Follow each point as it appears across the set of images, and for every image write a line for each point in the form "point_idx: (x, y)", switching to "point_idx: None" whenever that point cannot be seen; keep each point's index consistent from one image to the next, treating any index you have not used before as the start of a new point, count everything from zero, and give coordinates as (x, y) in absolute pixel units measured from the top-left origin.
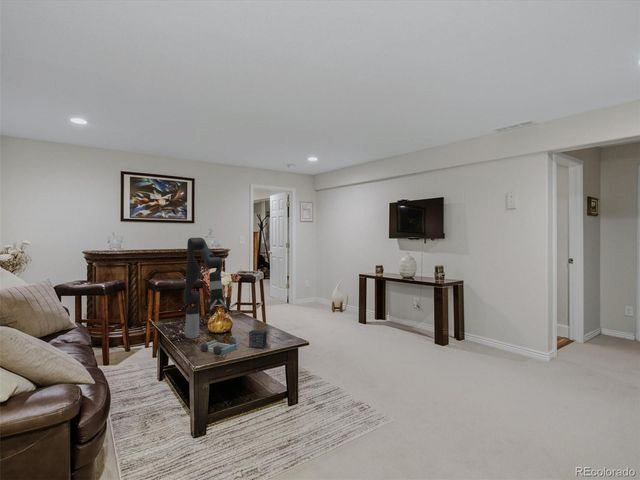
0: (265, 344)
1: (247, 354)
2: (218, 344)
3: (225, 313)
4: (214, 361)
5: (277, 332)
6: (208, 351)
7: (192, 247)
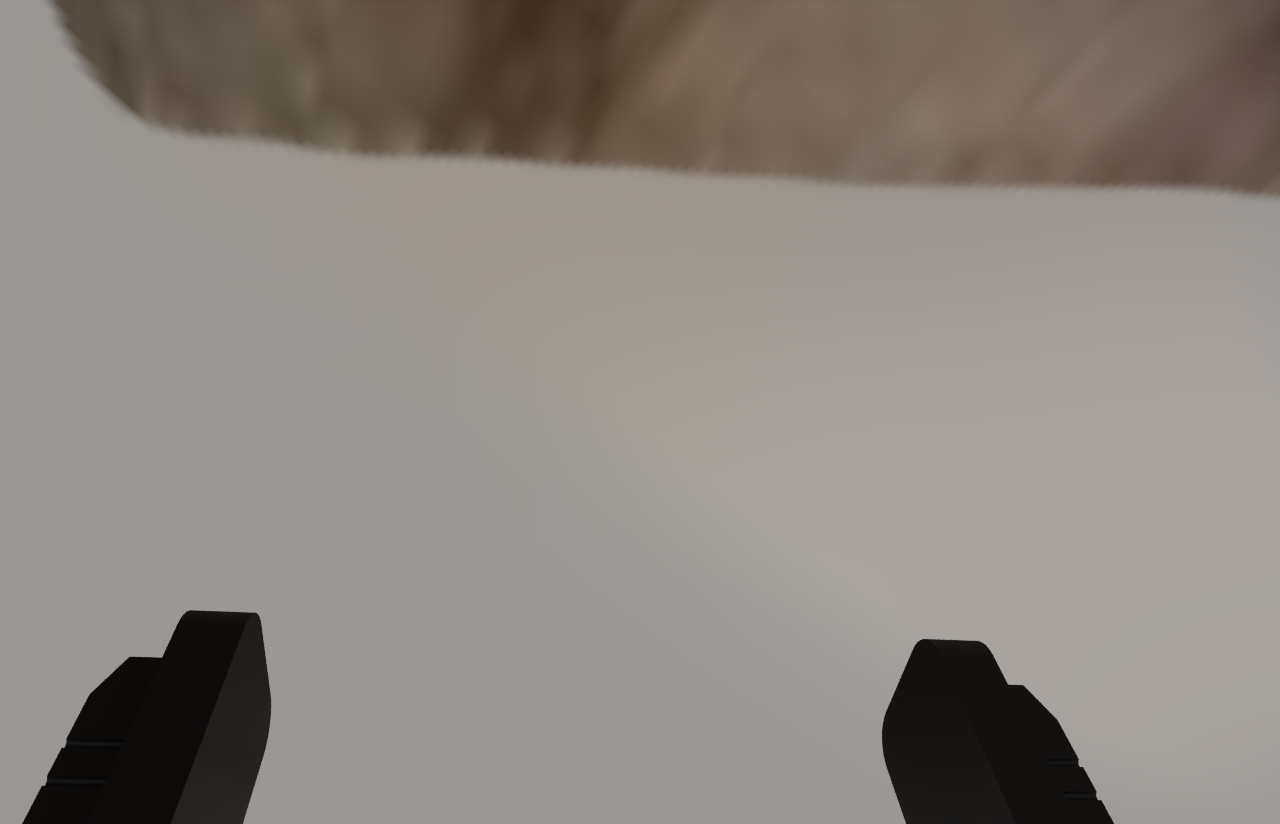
0: None
1: (958, 172)
2: None
3: (894, 750)
4: (417, 123)
5: None
6: None
7: None
